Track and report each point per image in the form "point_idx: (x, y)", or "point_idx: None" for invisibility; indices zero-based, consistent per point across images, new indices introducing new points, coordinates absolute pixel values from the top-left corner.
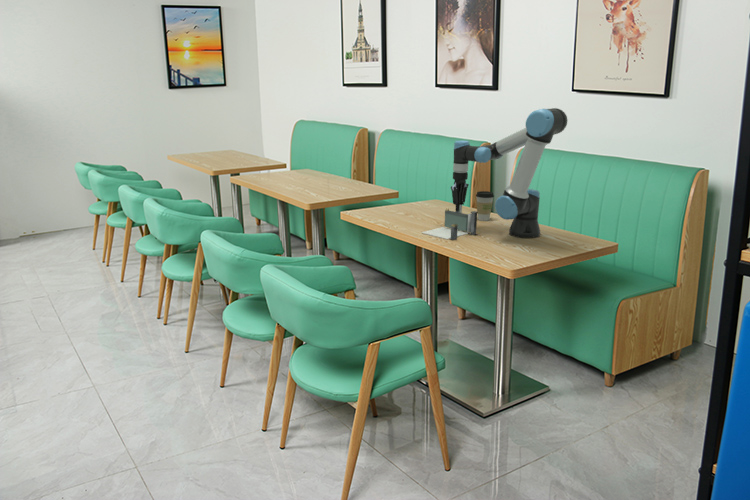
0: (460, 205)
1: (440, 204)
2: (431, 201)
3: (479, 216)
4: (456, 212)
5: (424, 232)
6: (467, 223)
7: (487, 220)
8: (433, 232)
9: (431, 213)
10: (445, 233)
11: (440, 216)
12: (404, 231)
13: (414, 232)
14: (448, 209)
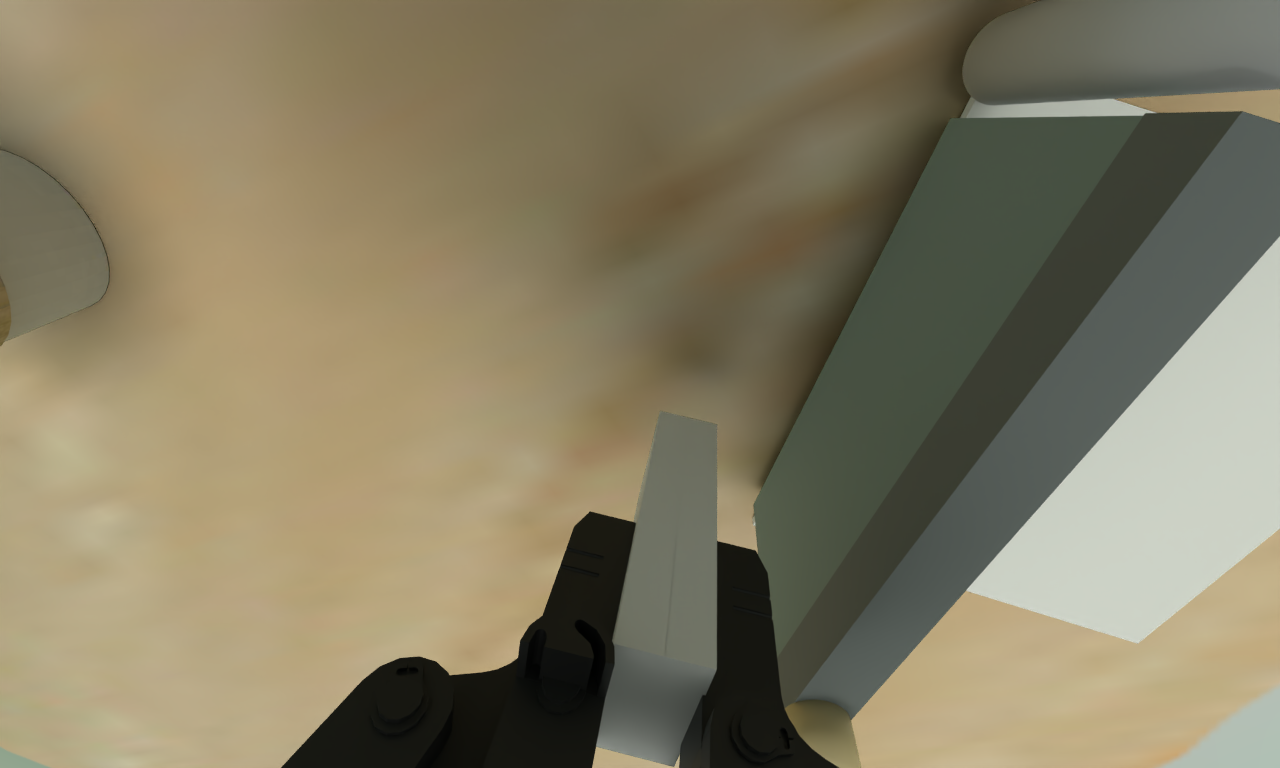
0: (706, 657)
1: (33, 706)
2: (36, 756)
3: (51, 284)
4: (960, 547)
5: (1135, 617)
6: (1044, 122)
7: (17, 157)
8: (1111, 541)
9: (305, 704)
10: (1143, 402)
11: (331, 638)
12: (1079, 751)
13: (1104, 685)
14: (839, 736)
